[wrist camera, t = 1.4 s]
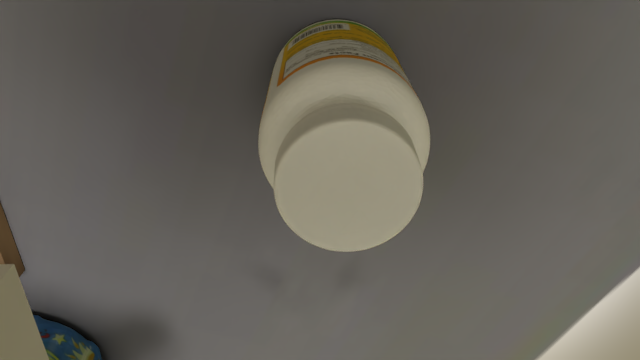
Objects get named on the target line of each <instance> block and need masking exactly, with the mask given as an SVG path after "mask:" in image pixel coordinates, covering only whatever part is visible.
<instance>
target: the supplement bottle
mask: <svg viewBox="0 0 640 360" xmlns="http://www.w3.org/2000/svg"><path fill="white" fill-rule="evenodd" d="M258 150H259V156H260V162H261V165H262V169H263V171H264V174H265V176H266V178H267V180H268V182H269V183H270V185H271V186H272V188H273V189H274V196H275V201H276V204H277V207H278V210H279V212H280V214H281V216H282V218H283V219H284V221H285V222H286V224H287V225H288V226H289V227H290V228H291V229H292V230H293V231H294V232H295V233H296V234H297V235H298V236H300V237H301V238H302V239H304V240H305V241H307V242H309V243H311V244H313V245H315V246H318V247H321V248H324V249H327V250H332V251H341V252H343V251H350V252H351V251H360V250H365V249H369V248H372V247H375V246H377V245H380V244H382V243H384V242H386V241H388V240H389V239H391V238H392V237H394V236H395V235H397V234H398V233H399V232H400V231H402V229H403V228H404V227H405V226H406V225H407V224H408V223H409V222H410V220H411V219H412V218H413V216H414V214H415V212H416V210H417V209H418V207H419V204H420V201H421V197H422V192H423V172H424V169H425V167H426V164H427V160H428V156H429V151H430V130H429V124H428V120H427V117H426V114H425V111H424V109H423V106H422V104H421V102H420V100H419V98H418V96H417V94H416V92H415V91H414V89H413V87H412V85H411V84H410V82H409V80H408V78H407V76H406V75H405V73H404V71H403V69H402V67H401V65H400V63H399V61H398V59H397V58H396V56H395V54H394V52H393V51H392V49H391V48H390V46H389V45H388V44H387V43H386V41H385V40H384V39H383V38H382V37H381V36H380V35H378V34H377V33H376V32H375V31H373V30H372V29H370V28H369V27H367V26H365V25H363V24H360V23H357V22H354V21H349V20H339V19H335V20H325V21H321V22H317V23H314V24H312V25H309V26H307V27H306V28H304V29H302V30H301V31H299V32H298V33H297V34H295V35H294V36H293V37H292V38H291V39H290V40H289V41H288V42H287V43H286V45H285V46H284V47H283V49H282V50H281V52H280V54H279V56H278V58H277V60H276V63H275V66H274V69H273V72H272V77H271V81H270V85H269V89H268V93H267V97H266V101H265V105H264V109H263V113H262V117H261V122H260V127H259V137H258Z"/></svg>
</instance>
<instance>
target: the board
mask: <svg viewBox="0 0 640 360" xmlns="http://www.w3.org/2000/svg"><path fill="white" fill-rule="evenodd" d="M0 264H14V265H15V268H16V270H17V273H18V276H19V277H20V276H21V274H22V273H23V272H24V271H25V268H24V266H23V263H22V260H21V258H20V255H19V252H18V250H17V247H16V244H15V241H14V239H13V236H12V233H11V231H10V228H9V225H8V222H7V220H6V217H5V214H4V212H3V209H2V206H1V203H0Z"/></svg>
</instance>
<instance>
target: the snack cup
mask: <svg viewBox="0 0 640 360" xmlns="http://www.w3.org/2000/svg"><path fill="white" fill-rule="evenodd" d="M33 317H34V320H35V322H36V325H37V328H38V331H39V333H40V336H41V339H42V341H43V344H44V347H45V350H46V352H47V355H48V358H49V360H102V358H101V354H100V350H99V348H98V346H97V345H95V344H94V343H93V342H92V341H88V340H86V339H85V338H84V337H83V336H82V335H80V334H79V333H77V332H76V331H75V330H73V329H71V328H69V327H67V326H65V325H62V324H60V323H57V322H53V321H49V320H45V319H43V318H41V317H40V316H38V315H33Z"/></svg>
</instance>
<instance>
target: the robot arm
mask: <svg viewBox="0 0 640 360" xmlns="http://www.w3.org/2000/svg"><path fill="white" fill-rule="evenodd" d="M0 360H49V358H48V355H47V352H46V350H45V347H44V344H43V341H42V339H41V336H40V333H39V331H38V328H37V325H36V322H35V320H34V317H33V314H32V311H31V309H30V306H29V303H28V300H27V298H26V295H25V292H24V289H23V287H22V284H21V281H20V279H19V276H18V273H17V270H16V268H15V265H14V264H0Z"/></svg>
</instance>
